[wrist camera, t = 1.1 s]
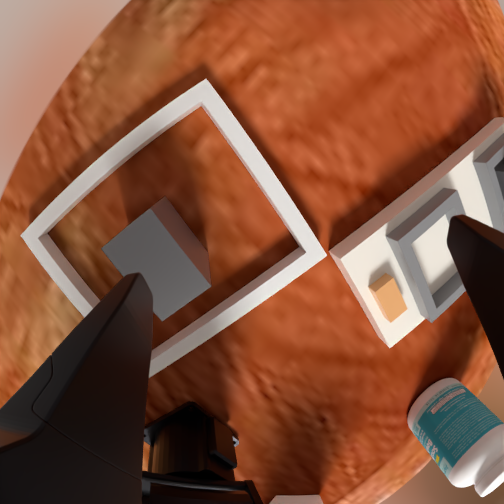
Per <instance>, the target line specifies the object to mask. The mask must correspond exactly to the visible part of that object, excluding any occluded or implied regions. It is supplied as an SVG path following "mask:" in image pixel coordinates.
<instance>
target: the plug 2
mask: <svg viewBox="0 0 504 504" xmlns="http://www.w3.org/2000/svg"><path fill="white" fill-rule="evenodd" d="M494 169H495V172H496V176H497V179H498V182H499V185H500V189H501V192H502V196H503V200H504V158H503V159H502V160H501V161H500V162H499V163H498V164H497V165H496V166H495V167H494Z"/></svg>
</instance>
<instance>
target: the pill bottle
mask: <svg viewBox="0 0 504 504" xmlns="http://www.w3.org/2000/svg"><path fill="white" fill-rule="evenodd" d="M407 421H408V426H409V428H410V429H411V431H412V432H413V433H414V435H415V436H416V437H417V438H418V440H419V441H420V442H421V444H422V445H423V446H424V448H425V449H426V450H427V451H428V453H429V454H430V455H431V457H432V458H433V459H434V461H435V462H436V463H437V465H438V466H439V467H440V469H441V470H442V471H443V473H444V474H445V475H446V477H447V478H448V479H449V481H450V482H451V483H452V484H453V485H454V486H456V487H466V486H470V485H472V484H475V490H476V491H477V493H478V494H479V495H480V496H481V497H484V496H485V495H487V494H489V493H490V492H492V491H493V490H494V489H496V488H497V487H498V486H499V485H500V484H501V483H502V482H503V481H504V423H503V422H502V421H501V420H500V419H499V418H498V417H497V416H496V415H495V414H493V413H492V412H491V411H490V410H489V409H488V408H487V407H486V406H485V405H484V404H483V403H482V402H481V401H480V400H479V399H478V398H477V397H476V396H475V395H474V394H472V393H471V392H470V391H469V390H468V389H467V388H466V387H465V386H464V385H463V384H462V383H461V382H459V381H458V380H457V379H454V378H445V379H442V380H439V381H437V382H436V383H434V384H432V385H431V386H430V387H428V388H427V389H426V390H425V391H424V392H423V393H422V394H421V395H420V396H419V397H418V398H417V400H416V401H415V402H414V404H413V405H412V407H411V409H410V411H409V414H408V420H407Z"/></svg>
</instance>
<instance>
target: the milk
mask: <svg viewBox="0 0 504 504" xmlns="http://www.w3.org/2000/svg"><path fill="white" fill-rule="evenodd" d="M269 504H323V502H322V500H321V497H320V495H276V496H275V497H274V498H273V500H272V501H271V502H270V503H269Z"/></svg>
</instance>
